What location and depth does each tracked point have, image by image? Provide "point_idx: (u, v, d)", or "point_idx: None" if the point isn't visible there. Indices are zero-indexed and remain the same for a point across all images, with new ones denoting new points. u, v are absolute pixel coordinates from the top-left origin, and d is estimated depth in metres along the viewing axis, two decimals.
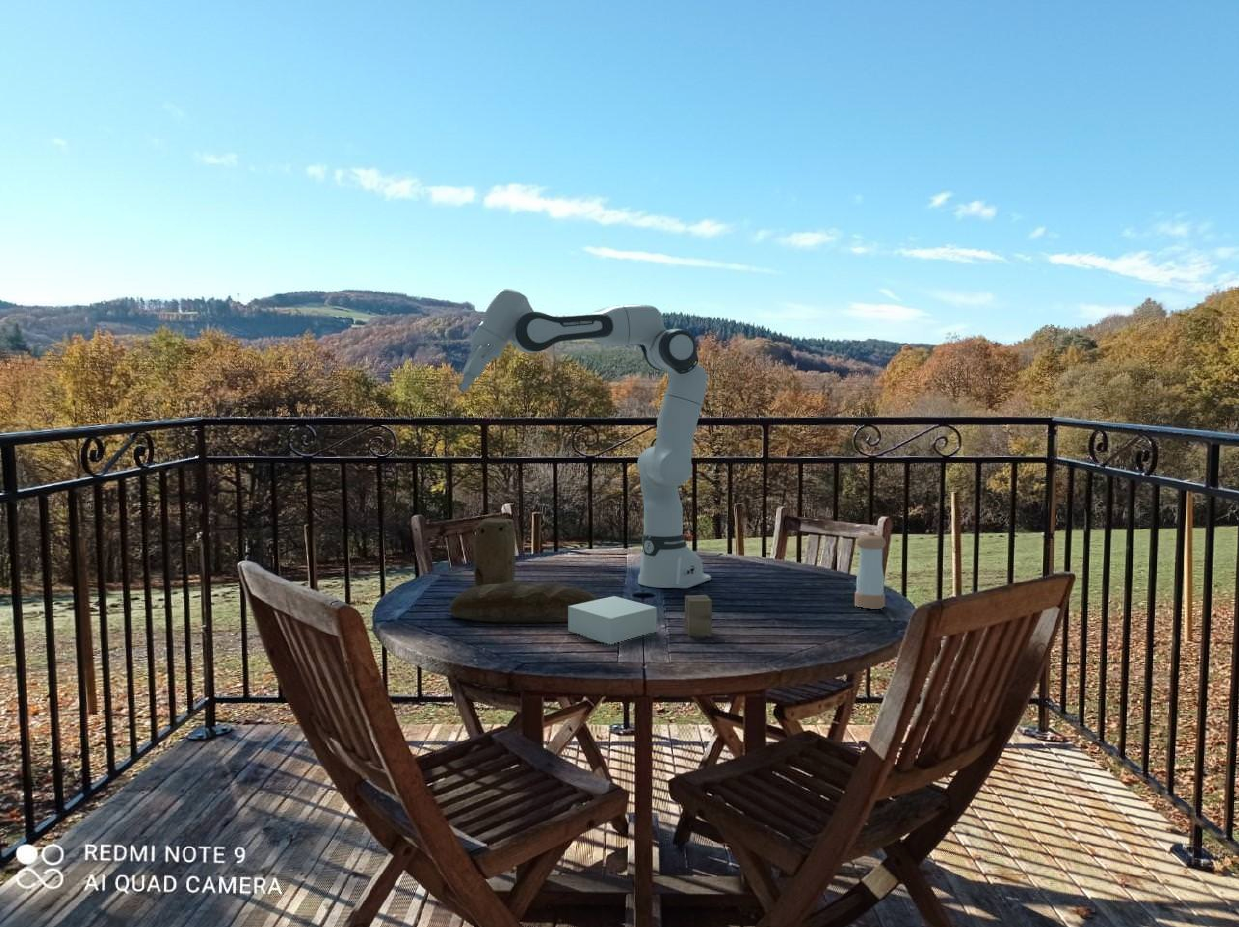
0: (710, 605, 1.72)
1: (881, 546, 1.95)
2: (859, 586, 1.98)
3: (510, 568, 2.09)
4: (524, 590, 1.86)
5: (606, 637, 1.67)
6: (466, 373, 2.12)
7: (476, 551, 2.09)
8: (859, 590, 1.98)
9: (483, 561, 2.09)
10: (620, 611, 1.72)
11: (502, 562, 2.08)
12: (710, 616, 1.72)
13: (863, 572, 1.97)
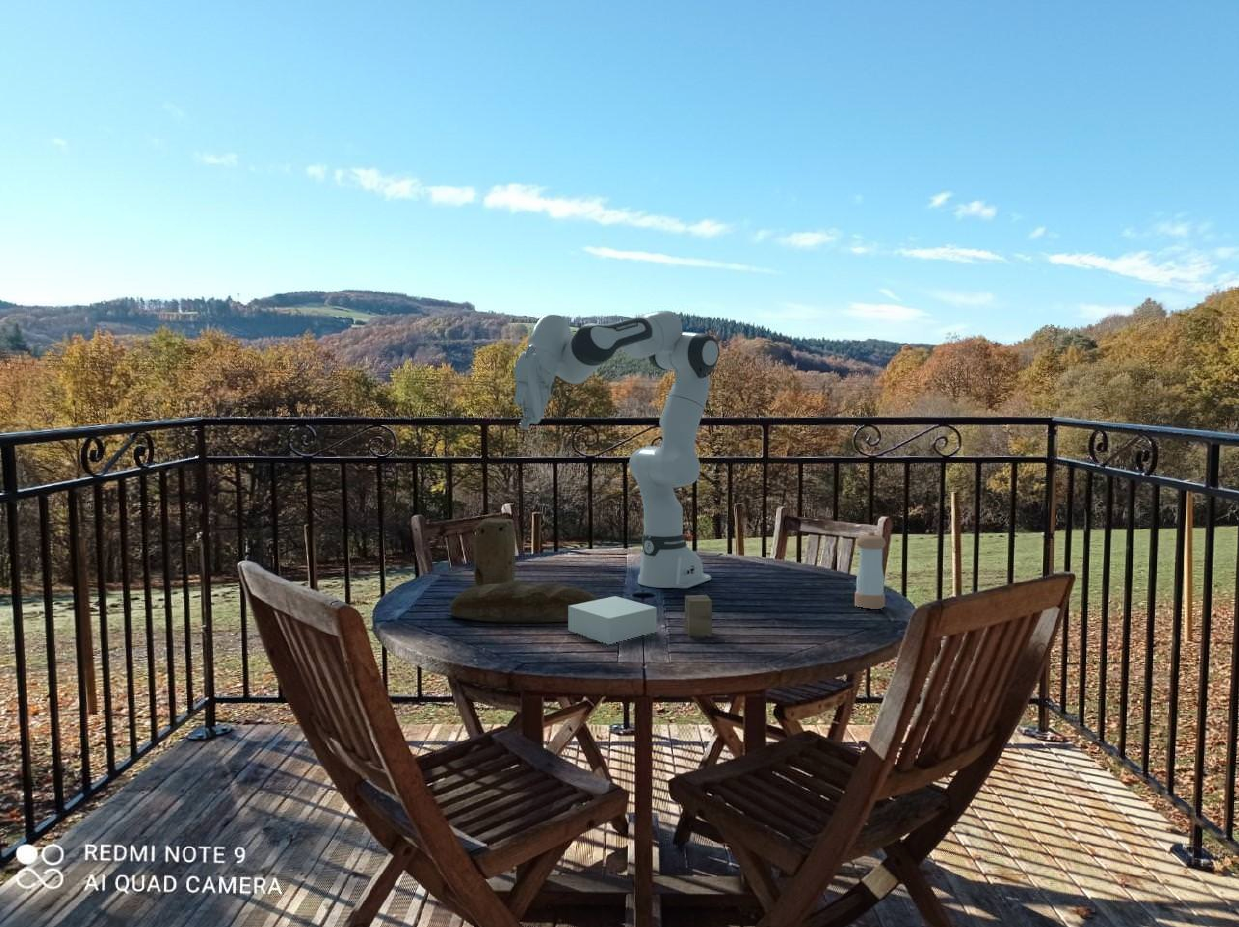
0: (710, 605, 1.72)
1: (881, 546, 1.95)
2: (859, 586, 1.98)
3: (510, 568, 2.09)
4: (524, 590, 1.86)
5: (604, 637, 1.67)
6: (525, 411, 1.88)
7: (476, 551, 2.09)
8: (859, 590, 1.98)
9: (483, 561, 2.09)
10: (619, 611, 1.72)
11: (502, 562, 2.08)
12: (710, 616, 1.72)
13: (863, 572, 1.97)
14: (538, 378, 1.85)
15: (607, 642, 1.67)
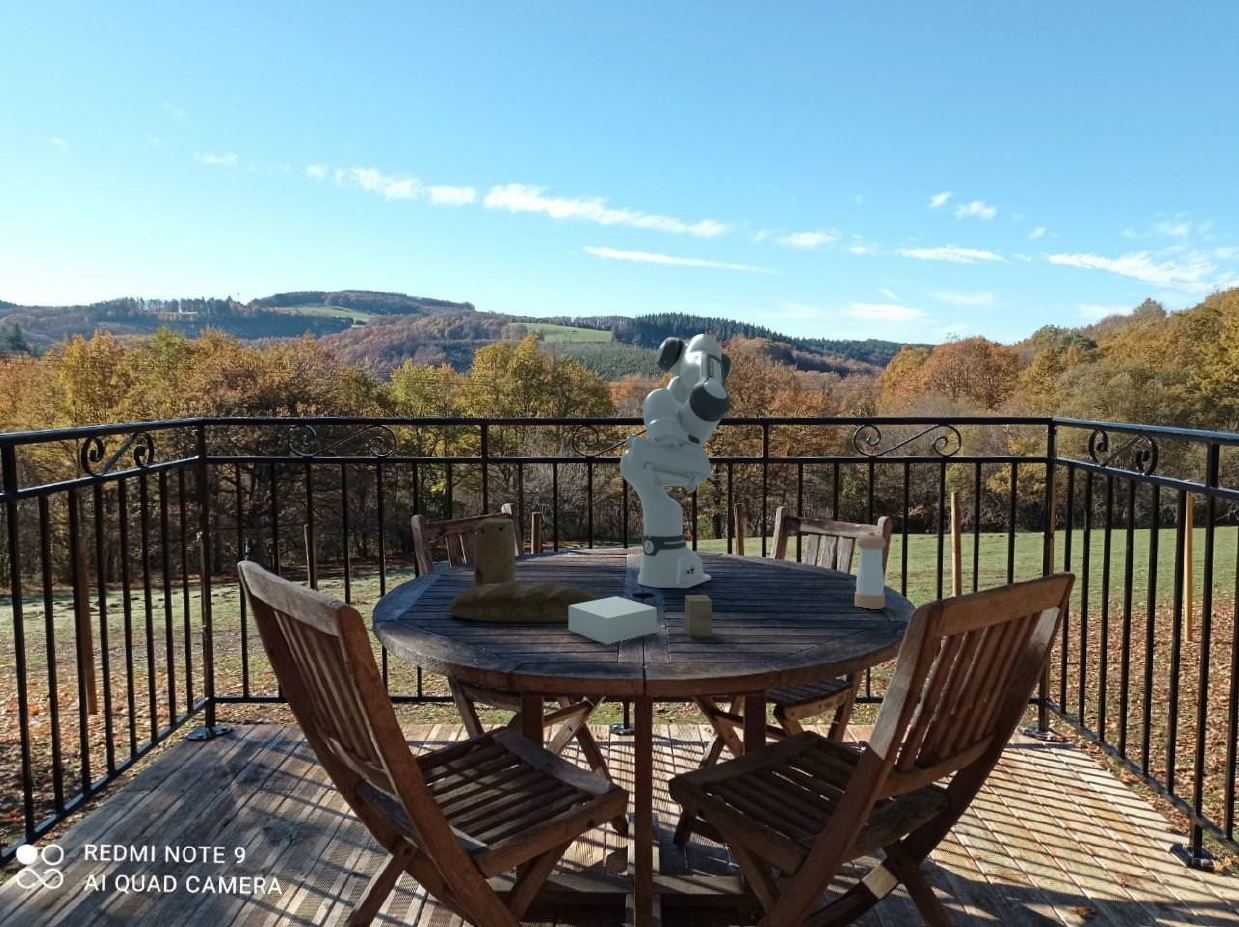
0: (710, 605, 1.72)
1: (881, 546, 1.95)
2: (859, 586, 1.98)
3: (510, 568, 2.09)
4: (524, 590, 1.86)
5: (603, 637, 1.67)
6: (688, 476, 1.85)
7: (476, 551, 2.09)
8: (859, 590, 1.98)
9: (483, 561, 2.09)
10: (619, 611, 1.72)
11: (502, 562, 2.08)
12: (710, 616, 1.72)
13: (863, 572, 1.97)
14: (664, 447, 1.84)
15: (606, 642, 1.67)
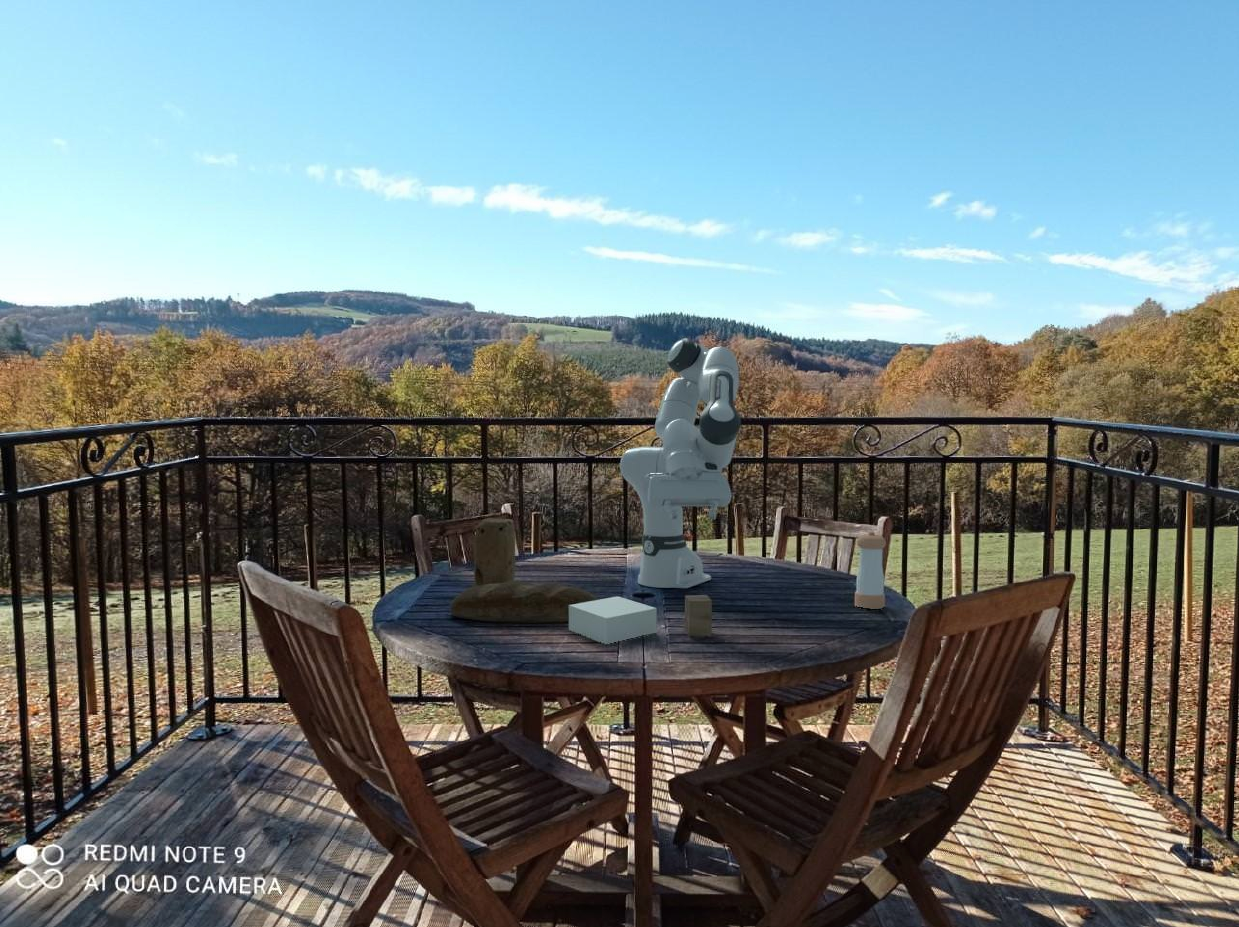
0: (710, 605, 1.72)
1: (881, 546, 1.95)
2: (859, 586, 1.98)
3: (510, 568, 2.09)
4: (524, 590, 1.86)
5: (602, 637, 1.67)
6: (710, 503, 1.90)
7: (476, 551, 2.09)
8: (859, 590, 1.98)
9: (483, 561, 2.09)
10: (618, 611, 1.71)
11: (502, 562, 2.08)
12: (710, 616, 1.72)
13: (863, 572, 1.97)
14: (681, 480, 1.91)
15: (604, 642, 1.67)
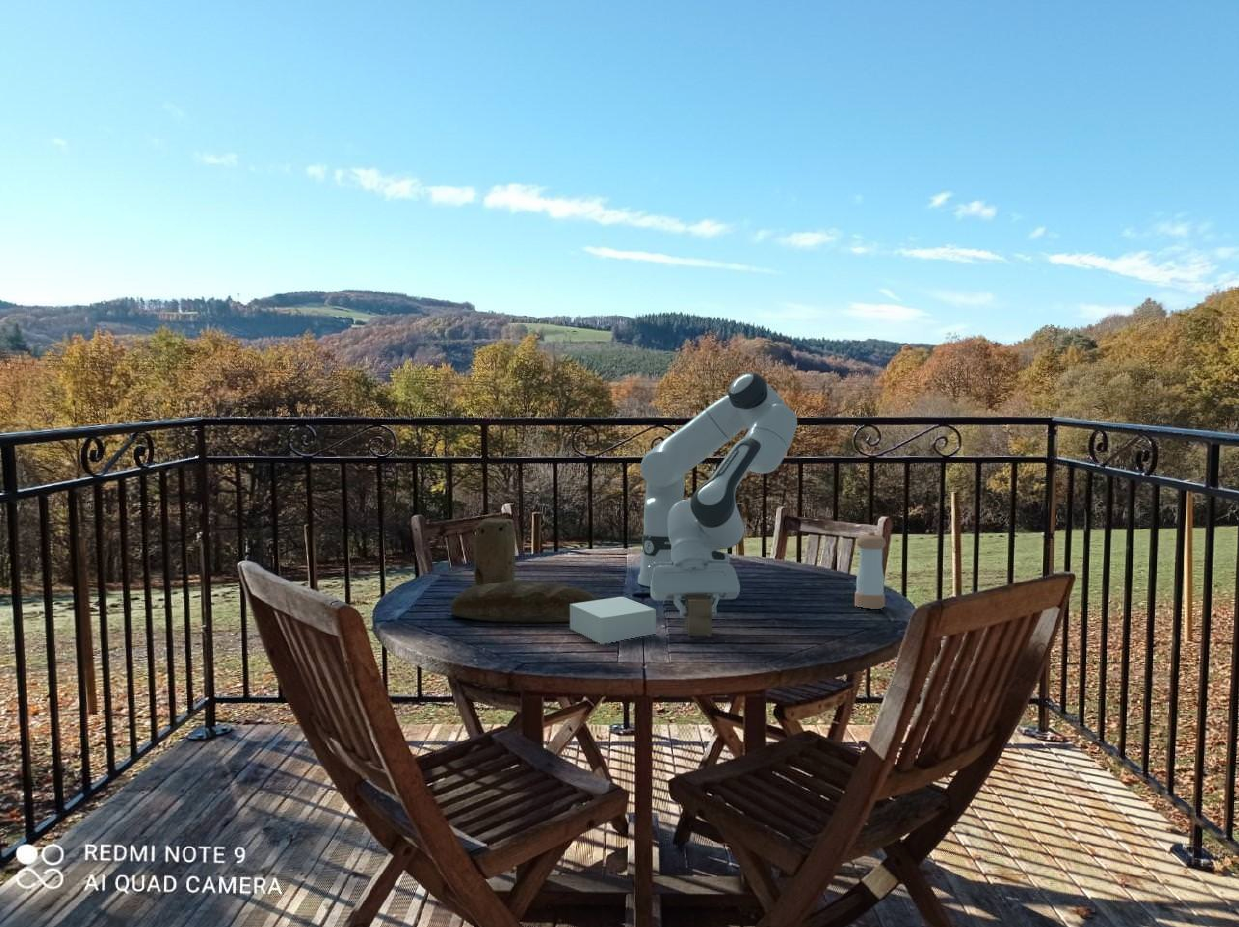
0: (710, 605, 1.72)
1: (881, 546, 1.95)
2: (859, 586, 1.98)
3: (510, 568, 2.09)
4: (524, 589, 1.86)
5: (598, 637, 1.68)
6: (711, 597, 1.78)
7: (476, 551, 2.09)
8: (859, 590, 1.98)
9: (483, 561, 2.09)
10: (616, 611, 1.71)
11: (502, 562, 2.08)
12: (710, 616, 1.72)
13: (863, 572, 1.97)
14: (686, 571, 1.79)
15: (600, 641, 1.67)
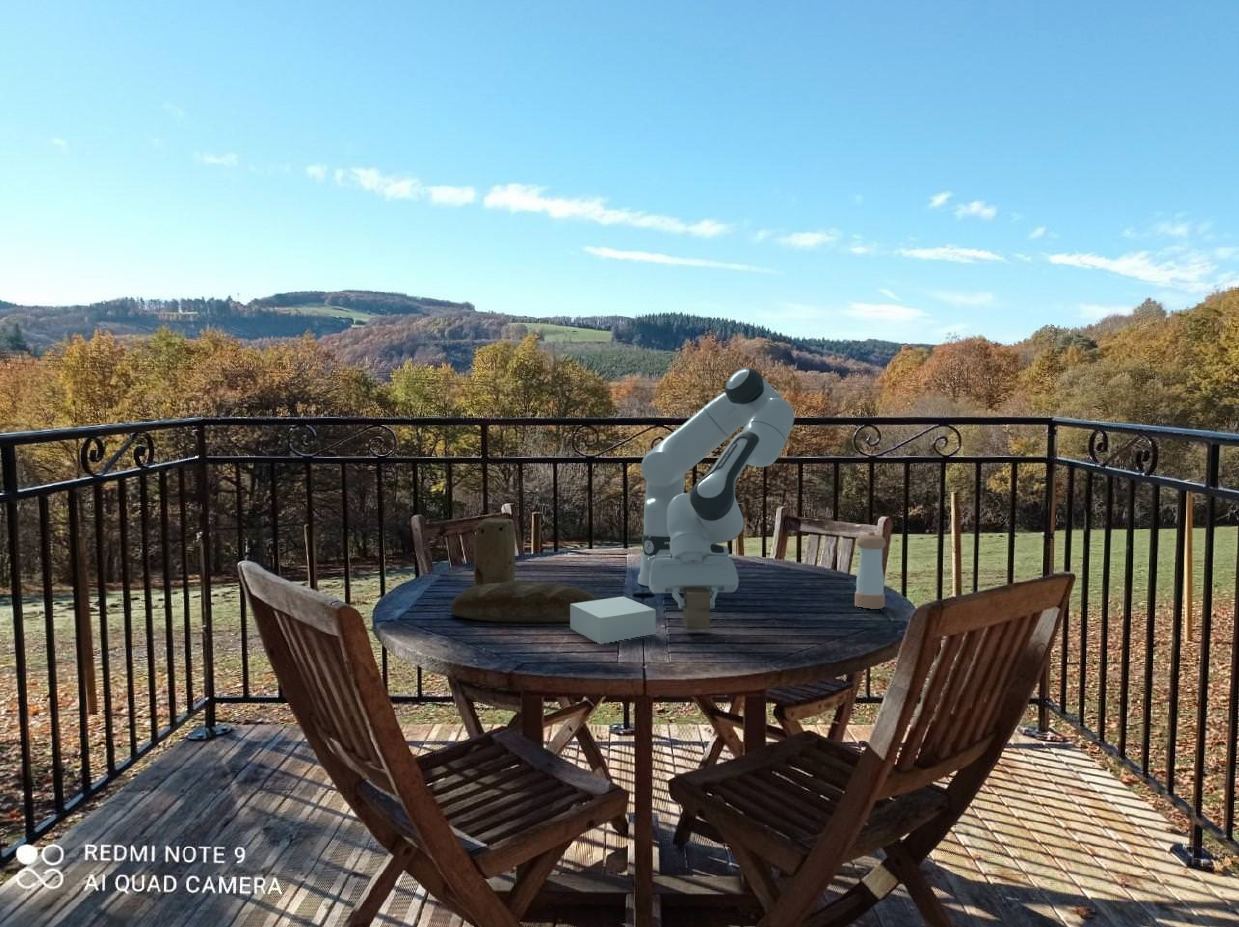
0: (708, 598, 1.72)
1: (881, 546, 1.95)
2: (859, 586, 1.98)
3: (510, 568, 2.09)
4: (524, 589, 1.86)
5: (596, 637, 1.68)
6: (709, 590, 1.78)
7: (476, 551, 2.09)
8: (859, 590, 1.98)
9: (483, 561, 2.09)
10: (616, 611, 1.71)
11: (502, 562, 2.08)
12: (708, 609, 1.72)
13: (863, 572, 1.97)
14: (685, 564, 1.79)
15: (599, 641, 1.67)
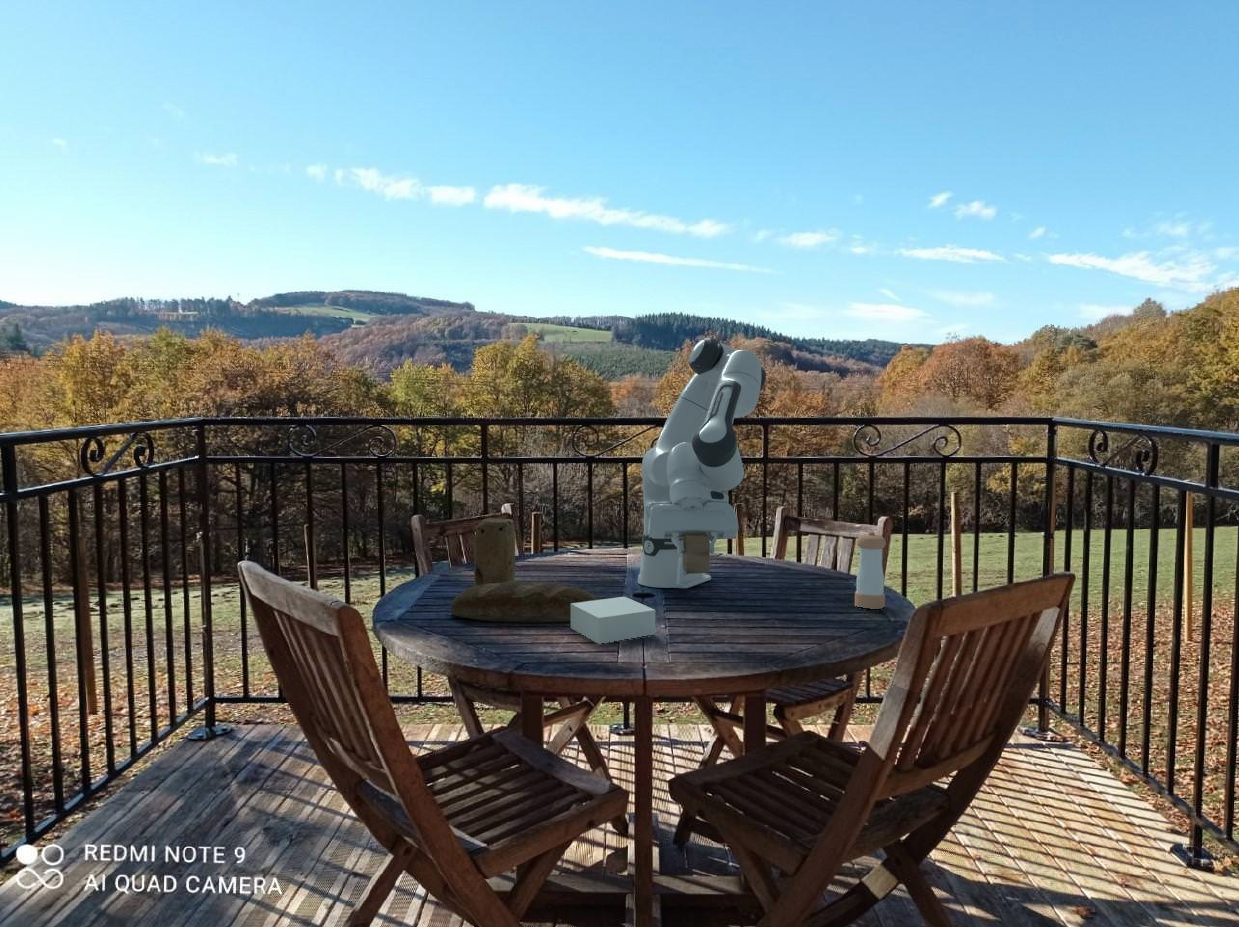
0: (707, 541, 1.71)
1: (881, 546, 1.95)
2: (859, 586, 1.98)
3: (510, 568, 2.09)
4: (524, 589, 1.86)
5: (595, 637, 1.68)
6: (709, 536, 1.77)
7: (476, 551, 2.09)
8: (859, 590, 1.98)
9: (483, 561, 2.09)
10: (615, 611, 1.71)
11: (502, 562, 2.08)
12: (708, 553, 1.71)
13: (863, 572, 1.97)
14: (685, 510, 1.78)
15: (597, 641, 1.67)
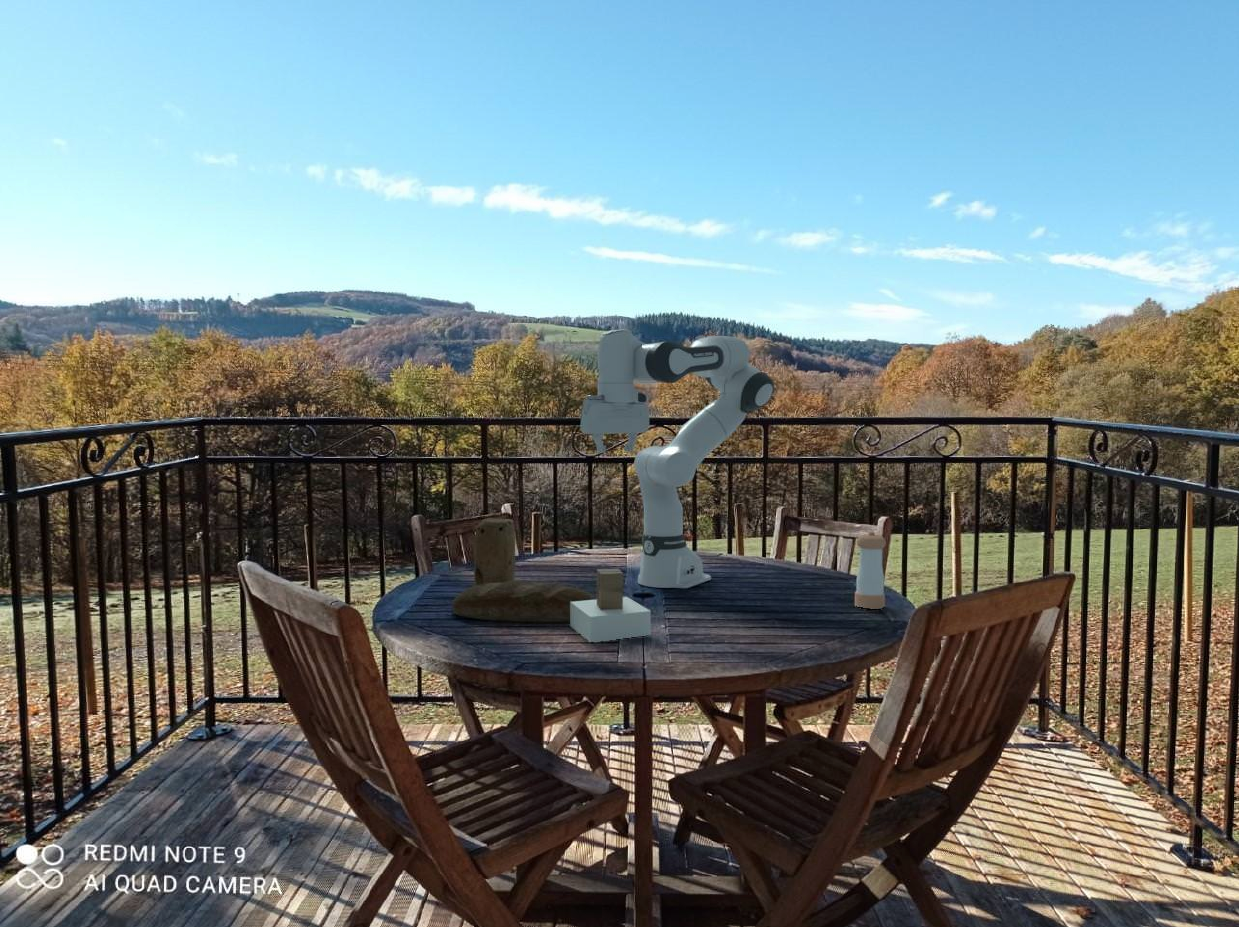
0: (621, 577, 1.73)
1: (881, 546, 1.95)
2: (859, 586, 1.98)
3: (510, 568, 2.09)
4: (524, 589, 1.86)
5: (588, 635, 1.69)
6: None
7: (476, 551, 2.09)
8: (859, 590, 1.98)
9: (483, 561, 2.09)
10: (610, 611, 1.72)
11: (502, 562, 2.08)
12: (621, 589, 1.74)
13: (863, 572, 1.97)
14: (615, 410, 1.90)
15: (589, 640, 1.68)
